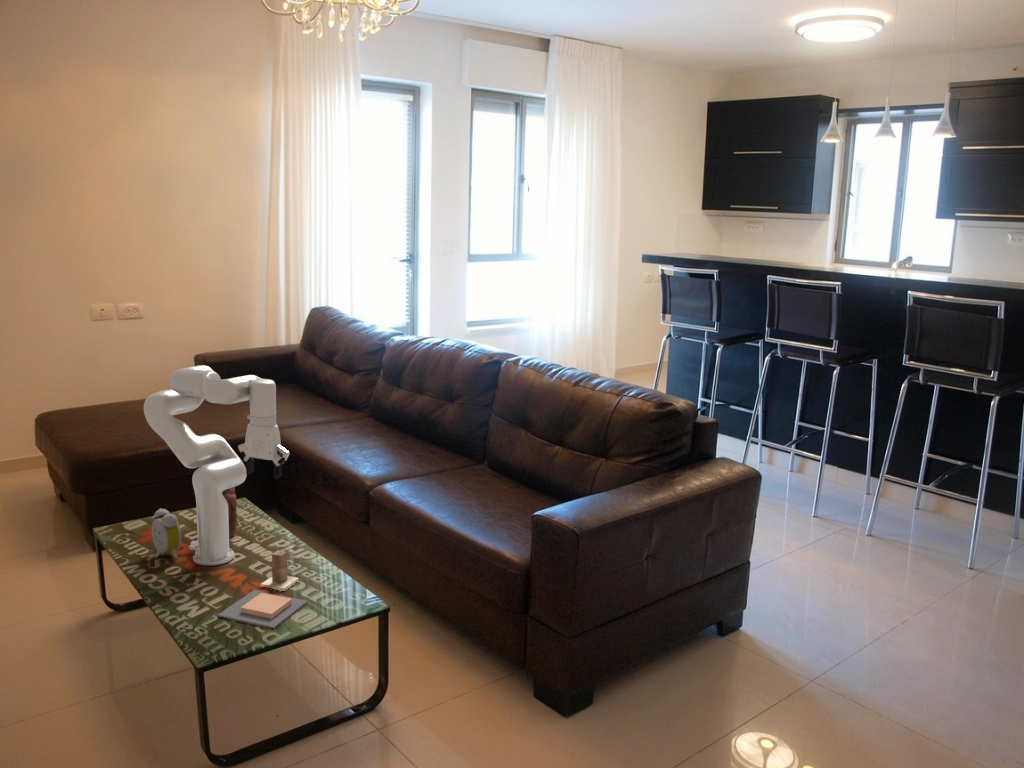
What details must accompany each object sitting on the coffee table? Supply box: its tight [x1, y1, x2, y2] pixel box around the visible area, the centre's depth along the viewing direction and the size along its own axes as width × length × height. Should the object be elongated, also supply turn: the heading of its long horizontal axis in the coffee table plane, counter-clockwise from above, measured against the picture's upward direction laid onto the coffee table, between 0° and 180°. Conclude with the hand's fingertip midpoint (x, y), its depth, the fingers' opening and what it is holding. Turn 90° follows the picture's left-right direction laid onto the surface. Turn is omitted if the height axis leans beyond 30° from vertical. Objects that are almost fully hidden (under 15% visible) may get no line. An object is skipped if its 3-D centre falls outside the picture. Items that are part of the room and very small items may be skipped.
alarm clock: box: [151, 507, 182, 560], centre depth 266 cm, size 12×7×15 cm, turn 44°
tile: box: [241, 593, 292, 619], centre depth 234 cm, size 2×10×10 cm
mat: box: [217, 589, 309, 630], centre depth 235 cm, size 18×17×1 cm
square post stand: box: [260, 549, 300, 592], centre depth 250 cm, size 8×8×10 cm
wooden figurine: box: [222, 486, 238, 538], centre depth 287 cm, size 12×6×18 cm, turn 29°
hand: (264, 475), depth 251 cm, fingers open, 9 cm apart
